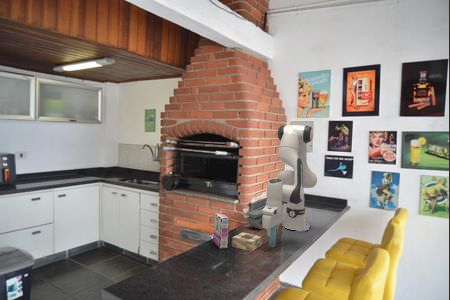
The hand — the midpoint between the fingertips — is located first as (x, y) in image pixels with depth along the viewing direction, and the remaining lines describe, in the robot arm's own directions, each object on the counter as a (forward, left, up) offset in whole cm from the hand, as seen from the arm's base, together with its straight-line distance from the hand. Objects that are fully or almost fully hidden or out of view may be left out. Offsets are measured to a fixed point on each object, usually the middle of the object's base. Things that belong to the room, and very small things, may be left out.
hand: (272, 233), depth 164 cm
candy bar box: (+17, -23, -7) cm, 29 cm away
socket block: (+9, -11, -7) cm, 16 cm away
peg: (0, 0, -7) cm, 7 cm away
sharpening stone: (-30, -21, -7) cm, 37 cm away
